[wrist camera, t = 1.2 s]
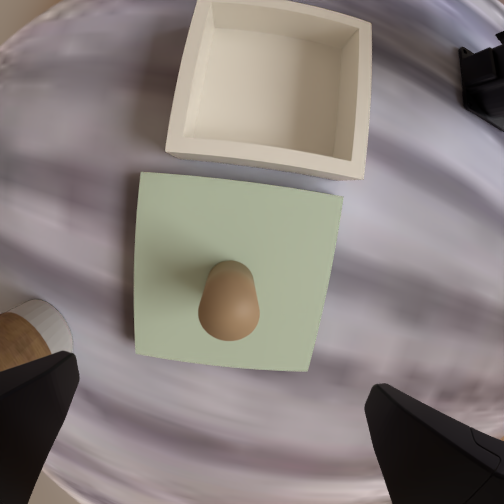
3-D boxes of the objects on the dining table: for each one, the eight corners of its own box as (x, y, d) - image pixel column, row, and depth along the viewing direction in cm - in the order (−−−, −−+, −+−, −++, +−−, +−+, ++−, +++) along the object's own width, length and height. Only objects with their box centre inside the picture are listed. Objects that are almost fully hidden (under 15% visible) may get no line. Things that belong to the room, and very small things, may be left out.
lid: (337, 196, 18) (377, 200, 12) (304, 363, 20) (323, 413, 15) (145, 172, 17) (109, 167, 11) (139, 346, 19) (114, 392, 14)
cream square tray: (348, 47, 16) (371, 23, 12) (337, 180, 18) (363, 179, 14) (205, 24, 15) (200, -8, 11) (180, 159, 17) (164, 151, 13)
